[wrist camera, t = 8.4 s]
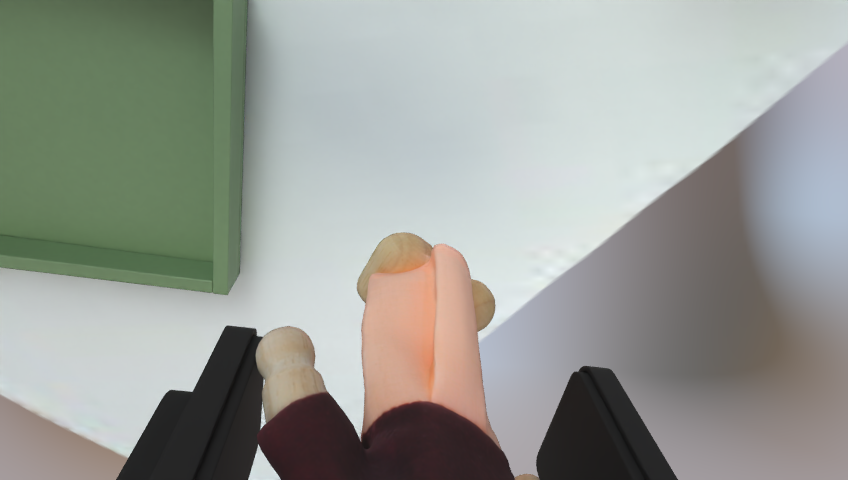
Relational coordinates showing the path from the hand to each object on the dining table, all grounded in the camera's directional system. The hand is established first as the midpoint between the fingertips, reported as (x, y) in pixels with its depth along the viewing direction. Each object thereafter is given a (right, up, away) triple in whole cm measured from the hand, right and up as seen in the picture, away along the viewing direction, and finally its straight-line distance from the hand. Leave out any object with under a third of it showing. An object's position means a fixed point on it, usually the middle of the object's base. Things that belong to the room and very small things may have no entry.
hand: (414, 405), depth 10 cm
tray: (-18, +10, +14) cm, 25 cm away
